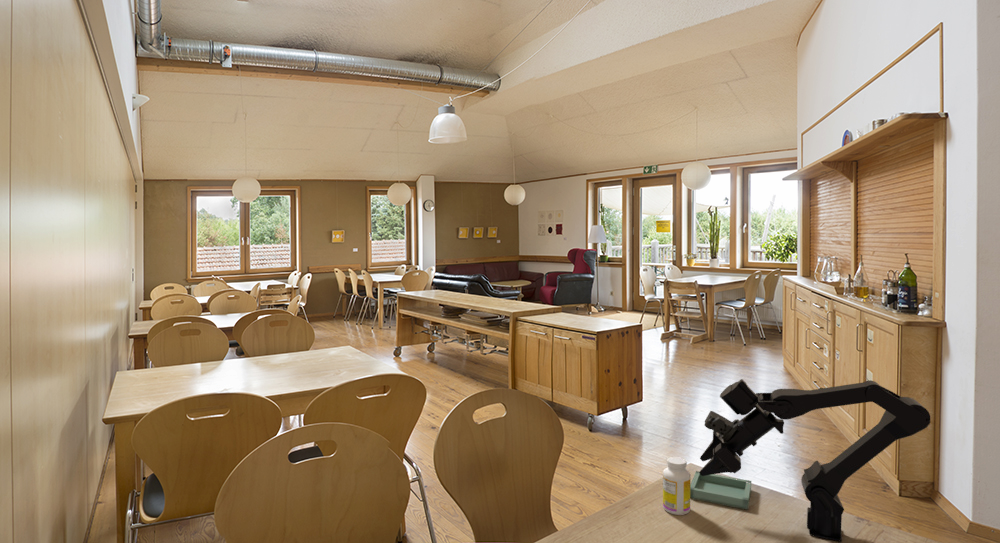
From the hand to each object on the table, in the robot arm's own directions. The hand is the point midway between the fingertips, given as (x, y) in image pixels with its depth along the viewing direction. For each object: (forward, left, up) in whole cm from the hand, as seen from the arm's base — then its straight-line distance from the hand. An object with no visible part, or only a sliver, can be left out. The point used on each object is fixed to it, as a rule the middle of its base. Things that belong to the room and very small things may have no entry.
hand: (700, 466), depth 142 cm
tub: (-3, -13, -12) cm, 18 cm away
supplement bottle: (+6, +1, -12) cm, 13 cm away
